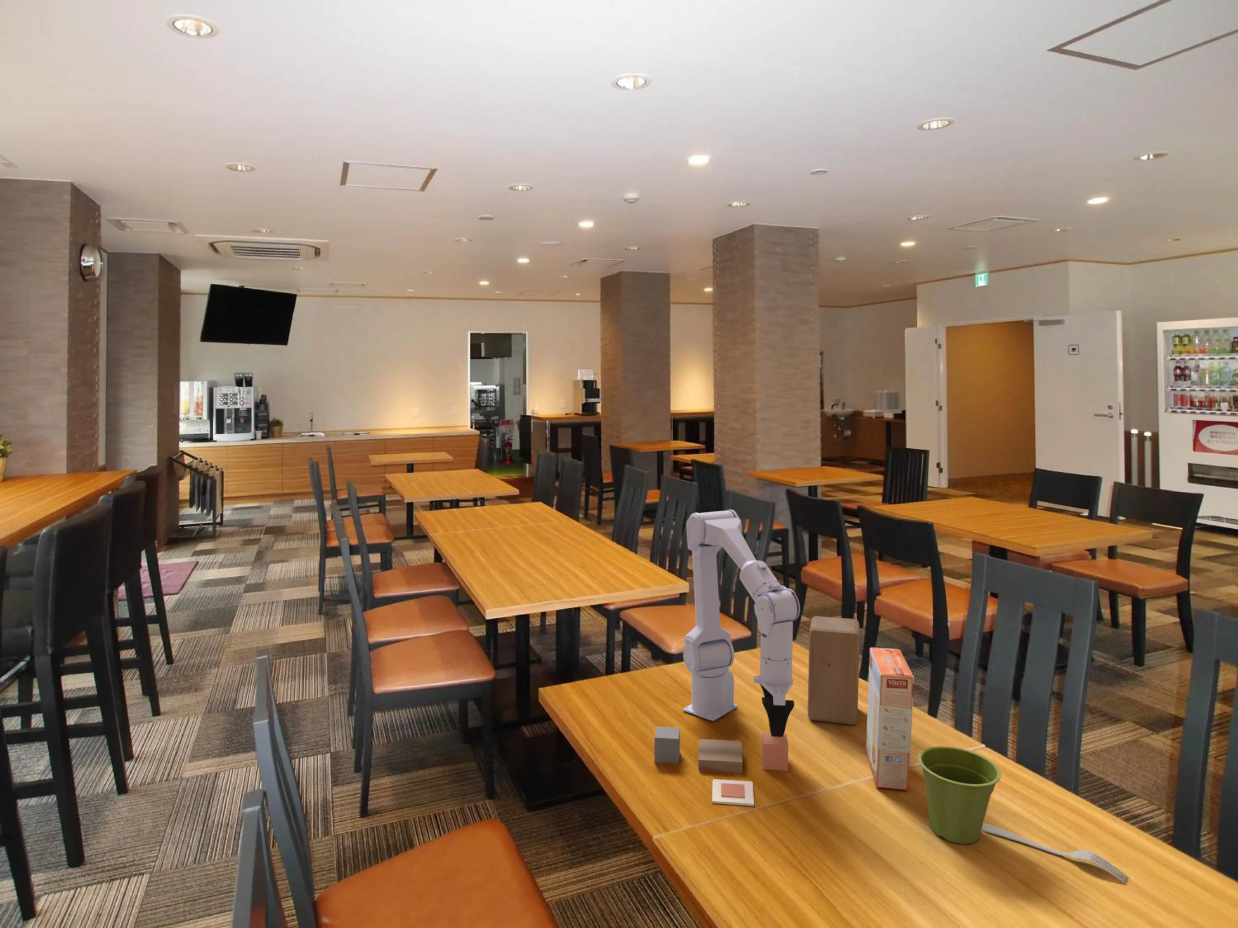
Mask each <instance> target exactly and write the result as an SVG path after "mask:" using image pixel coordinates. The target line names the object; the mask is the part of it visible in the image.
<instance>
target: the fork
mask: <svg viewBox="0 0 1238 928" xmlns="http://www.w3.org/2000/svg"><path fill="white" fill-rule="evenodd" d="M981 832H984V833H987V834H992V835H995V836H998V837H1002V838H1006V839H1008V840H1012V841H1014V842H1015V841H1016V842H1018V843H1022V844H1025V845H1027V846H1031V847H1034V848H1036V849H1039V850H1043V851H1045V852H1048V853H1051V854H1055V855H1059V856H1062V857H1063V856H1064V857H1071V858H1072V859H1076V860H1083V861H1087V862H1090V863H1092V864H1094V865H1095V866H1098V867H1099V868H1101V869H1103V870H1104V871H1106V872H1107V873H1109V874H1110V875H1111V876H1113V877H1115V878H1116V879H1118V880H1119V881H1120V882H1121V883H1124V885H1126V884H1127V885H1126V886H1128V885H1129V883H1127V882H1129V881H1128V880H1131V878H1130V877H1129V876H1128V875H1127V874H1126V873H1124V872H1123V871H1121V870H1120V869H1119V868H1118V867H1117V866H1115V865H1114V864H1112V863H1111V862H1109V861H1108V860H1107V859H1105V858H1104V857H1102V856H1100V855H1099V854H1097V853H1095V852H1093V851H1090V850H1085V849H1077V850H1074V851H1072V852H1064V851H1063V852H1062V851H1059V850H1056V849H1053V848H1050V847H1047V846H1045V845H1042V844H1040V843H1037V842H1034V841H1033V840H1030V839H1027V838H1025V837H1023V836H1021V835H1018V834H1016V833H1014V832H1012V831H1009V830H1007V829H1004V828H1002V827H999V826H997V825H993V824H990V823H989V824H988V823H984V822H983V826H982V829H981ZM1128 878H1129V879H1128ZM1126 879H1127V880H1126Z"/></svg>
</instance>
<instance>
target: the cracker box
mask: <svg viewBox="0 0 1238 928" xmlns="http://www.w3.org/2000/svg"><path fill="white" fill-rule="evenodd" d="M868 659H869V660H868V662H869V663H868V664H869V665H868V689H867V690H868V691H867V715H866V716H867V717H866V736H865V737H866V740H865V741H866V742H865V752H866V756H867V760H868V763H869V766H870V770H871V773H872V774H871V775H872V778H873V781H874V785H875V788H879V789H890V790H899V791H900V790H901V791H909V788H910V787H909V786H910V770H911V769H910V766H911V746H912V745H911V744H912V726H913V705H914V691H915V690H914V689H915V688H914V685H915V677H914V675H913V672H912V670H911V668H910V667H909V665H908V663H907V661H906V659H905V656H904V654H903V653H902V650H901V649H898V648H890V647H889V648H886V647H885V648H884V647H870V648H869V658H868Z"/></svg>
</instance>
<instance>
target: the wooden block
mask: <svg viewBox="0 0 1238 928" xmlns="http://www.w3.org/2000/svg"><path fill="white" fill-rule="evenodd" d="M860 629H861V628H860V623H859V620H857V619H855V618H844V617H832V616H831V617H830V616H821V615H820V616H819V615H815V616H812V618H811V620H810V626H809V634H808V635H809V636H808V674H807V675H808V677H807V678H808V679H807V680H808V681H807V717H808V718H809V720H811V721H818V722H826V723H834V724H844V725H851V726H853V725H857V722H858V712H859V711H858V710H859V706H858V705H859V682H860V681H859V676H860V649H861V648H860V647H861V646H860V645H861V644H860V643H861V641H860V640H861V633H860Z"/></svg>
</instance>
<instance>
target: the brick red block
mask: <svg viewBox="0 0 1238 928" xmlns="http://www.w3.org/2000/svg"><path fill="white" fill-rule="evenodd" d="M761 763H762V770H766V771H767V770H768V771H769V770H770V771H786V772H787V771H789V741H788V735H787V733H784V735H783V737H772V736H771V732H764V731H762V732H761Z"/></svg>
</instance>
